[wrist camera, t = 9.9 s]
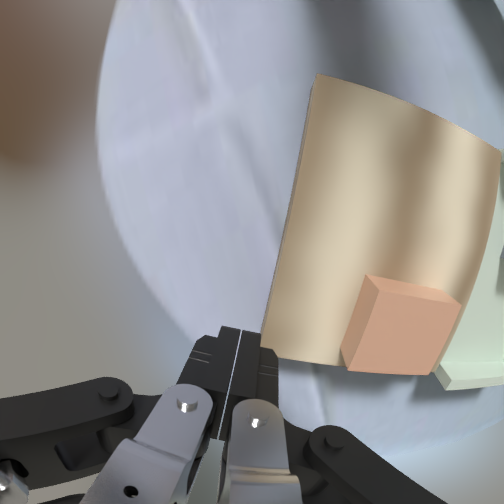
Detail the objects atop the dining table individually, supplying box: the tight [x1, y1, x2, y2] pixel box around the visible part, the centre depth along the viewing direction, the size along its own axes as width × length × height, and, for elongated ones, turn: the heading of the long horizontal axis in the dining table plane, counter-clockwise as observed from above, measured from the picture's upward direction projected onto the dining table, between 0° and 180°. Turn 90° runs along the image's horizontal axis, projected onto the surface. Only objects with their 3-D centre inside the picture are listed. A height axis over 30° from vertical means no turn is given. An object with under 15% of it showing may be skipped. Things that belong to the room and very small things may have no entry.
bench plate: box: [260, 73, 502, 372], centre depth 16 cm, size 14×17×3 cm
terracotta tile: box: [340, 274, 462, 375], centre depth 14 cm, size 6×5×2 cm
